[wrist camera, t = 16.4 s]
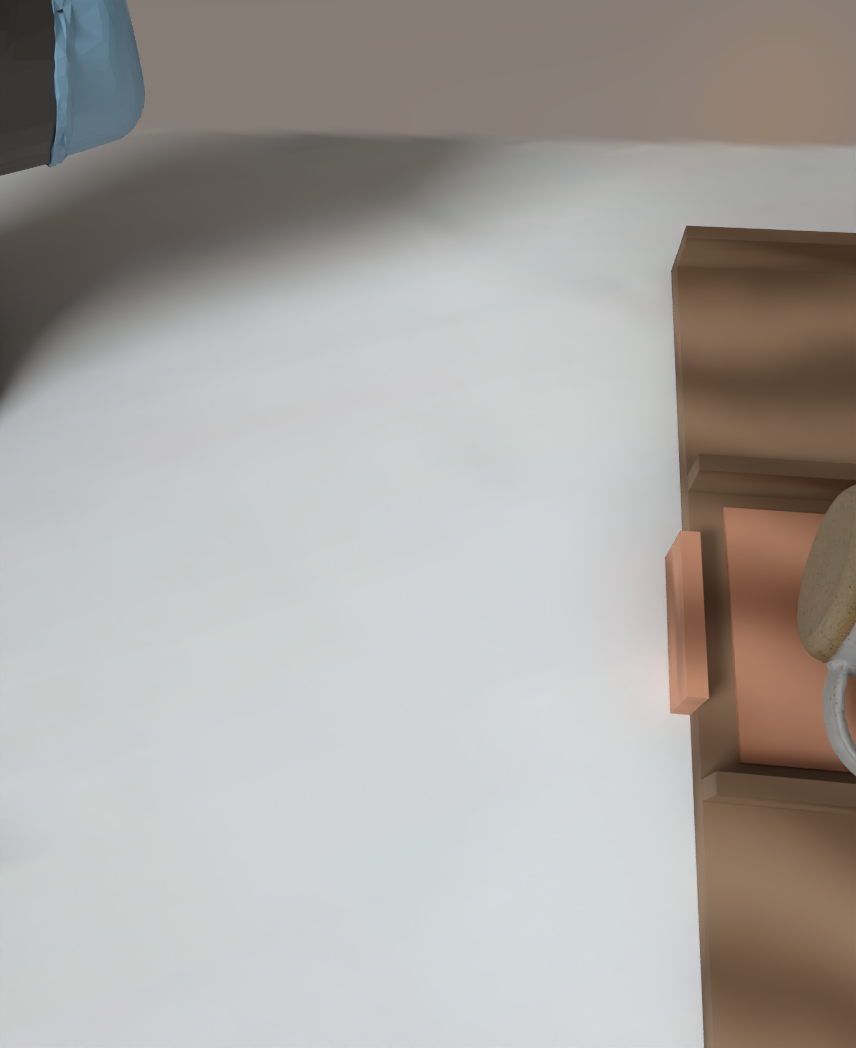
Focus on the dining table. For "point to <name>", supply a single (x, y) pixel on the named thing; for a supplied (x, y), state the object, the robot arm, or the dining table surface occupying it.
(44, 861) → the dining table surface
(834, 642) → the ceramic mug
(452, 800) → the dining table surface
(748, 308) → the rack
